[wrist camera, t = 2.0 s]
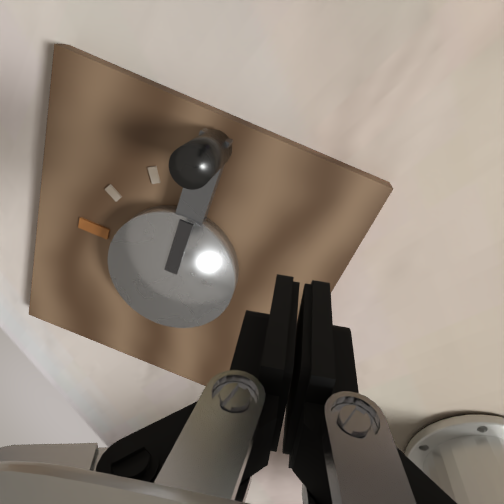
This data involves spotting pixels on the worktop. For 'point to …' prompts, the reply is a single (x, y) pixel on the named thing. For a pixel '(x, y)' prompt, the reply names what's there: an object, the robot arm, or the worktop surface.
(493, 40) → the worktop surface
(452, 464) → the robot arm
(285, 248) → the board
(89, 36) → the worktop surface
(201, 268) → the dial
